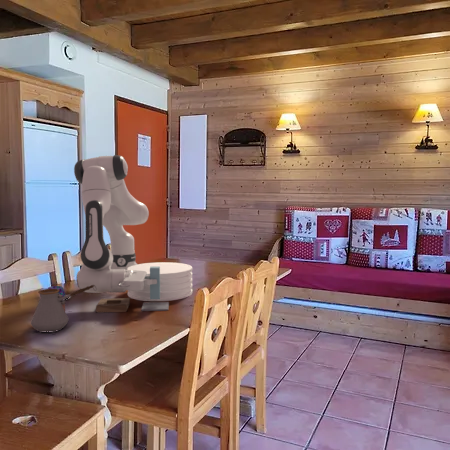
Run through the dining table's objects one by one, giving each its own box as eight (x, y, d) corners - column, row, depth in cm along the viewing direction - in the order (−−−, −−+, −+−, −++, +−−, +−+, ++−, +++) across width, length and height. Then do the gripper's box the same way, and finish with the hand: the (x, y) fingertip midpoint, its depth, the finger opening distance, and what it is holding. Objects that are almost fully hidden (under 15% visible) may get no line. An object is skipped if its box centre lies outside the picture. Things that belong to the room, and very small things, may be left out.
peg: (150, 297, 178) (150, 266, 177) (160, 296, 179) (159, 266, 178) (150, 299, 175) (149, 268, 174) (159, 299, 175) (159, 268, 174)
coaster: (143, 304, 182) (143, 302, 182) (168, 303, 183) (168, 302, 183) (141, 310, 172) (141, 309, 172) (168, 310, 173) (168, 308, 173)
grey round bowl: (77, 298, 193) (76, 286, 192) (53, 304, 182) (53, 291, 182) (57, 294, 198) (57, 283, 198) (33, 300, 188) (33, 288, 188)
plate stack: (155, 284, 220) (155, 260, 219) (204, 291, 205) (204, 265, 204) (113, 296, 196) (113, 269, 195) (165, 304, 181) (165, 276, 180)
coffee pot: (24, 334, 145) (22, 288, 143) (40, 323, 156) (39, 280, 155) (91, 335, 144) (90, 288, 142) (102, 324, 155) (101, 281, 154)
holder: (101, 304, 181) (101, 298, 181) (129, 304, 182) (129, 298, 182) (96, 312, 170) (96, 306, 170) (126, 311, 171) (126, 305, 171)
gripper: (116, 277, 164) (155, 277, 166) (123, 268, 185) (158, 267, 186) (117, 295, 165) (155, 294, 166) (124, 283, 185) (158, 282, 187)
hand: (157, 280), depth 176 cm, fingers closed on peg, 4 cm apart
